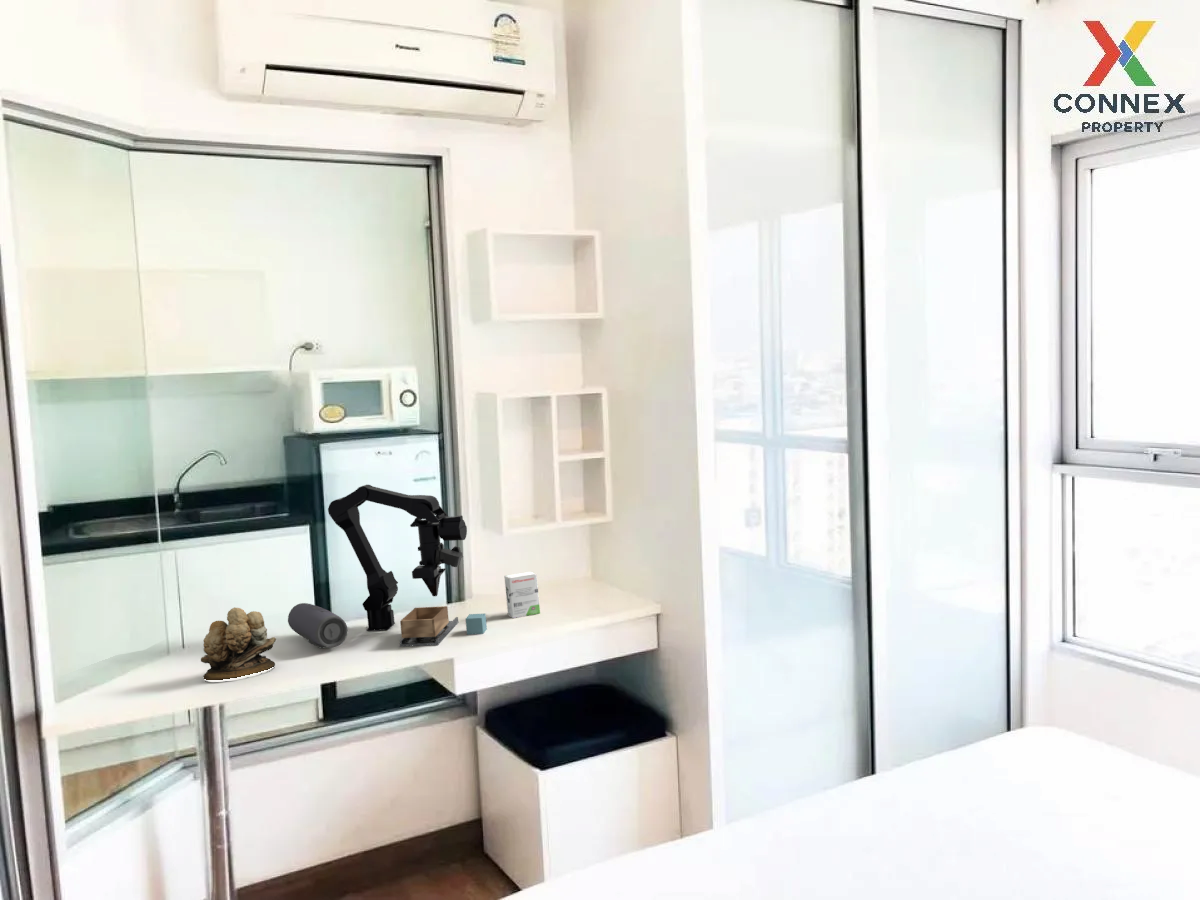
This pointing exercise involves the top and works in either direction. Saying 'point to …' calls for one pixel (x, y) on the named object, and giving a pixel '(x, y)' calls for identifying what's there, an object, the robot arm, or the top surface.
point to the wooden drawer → (424, 622)
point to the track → (428, 640)
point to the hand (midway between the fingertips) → (435, 596)
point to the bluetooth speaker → (317, 625)
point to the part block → (476, 624)
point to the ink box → (522, 594)
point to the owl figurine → (237, 646)
